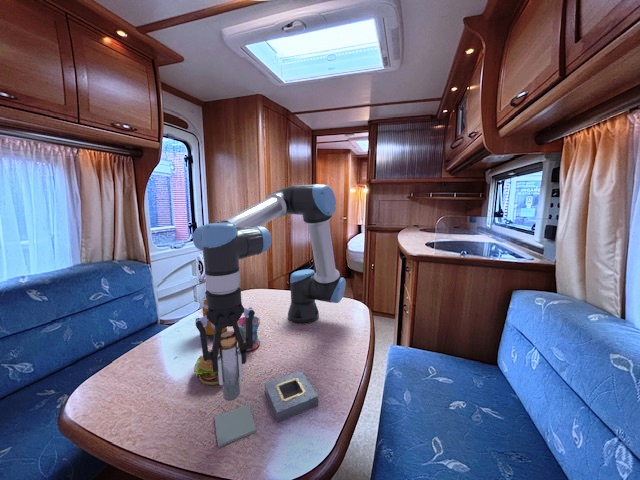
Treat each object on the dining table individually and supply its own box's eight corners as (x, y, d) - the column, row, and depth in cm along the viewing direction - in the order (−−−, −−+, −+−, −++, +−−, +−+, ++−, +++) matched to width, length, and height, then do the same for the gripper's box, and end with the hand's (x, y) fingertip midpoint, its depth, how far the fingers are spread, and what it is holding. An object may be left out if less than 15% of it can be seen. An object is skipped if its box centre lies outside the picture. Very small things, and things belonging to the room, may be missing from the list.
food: (206, 360, 93) (204, 340, 92) (244, 360, 93) (243, 340, 91) (185, 388, 80) (182, 365, 78) (230, 388, 79) (228, 365, 78)
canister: (209, 342, 105) (204, 296, 101) (200, 332, 113) (196, 289, 110) (230, 334, 110) (227, 290, 107) (221, 325, 119) (217, 284, 115)
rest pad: (248, 406, 72) (248, 404, 72) (256, 431, 64) (256, 429, 64) (214, 418, 68) (214, 417, 68) (218, 447, 60) (217, 445, 60)
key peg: (239, 386, 67) (235, 329, 65) (242, 397, 64) (237, 337, 61) (222, 391, 66) (217, 333, 63) (224, 403, 62) (219, 342, 59)
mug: (251, 355, 96) (249, 329, 94) (231, 350, 99) (229, 324, 98) (269, 339, 107) (268, 315, 105) (251, 334, 110) (250, 311, 108)
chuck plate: (301, 379, 83) (301, 370, 82) (318, 405, 72) (318, 395, 72) (265, 392, 77) (264, 382, 77) (277, 422, 67) (276, 412, 66)
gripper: (256, 279, 67) (260, 360, 71) (183, 290, 60) (192, 380, 63) (263, 287, 61) (268, 376, 64) (182, 301, 53) (193, 401, 57)
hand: (230, 378), depth 64 cm, fingers closed on key peg, 4 cm apart
